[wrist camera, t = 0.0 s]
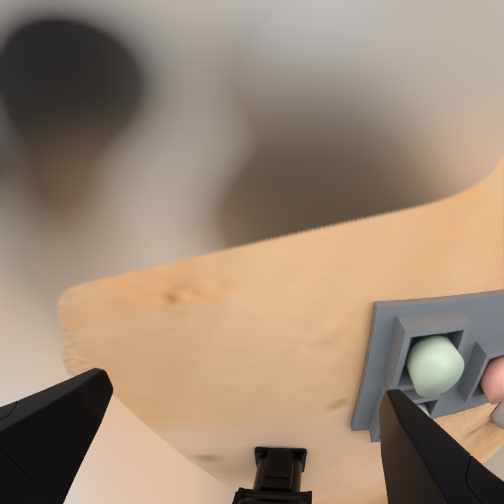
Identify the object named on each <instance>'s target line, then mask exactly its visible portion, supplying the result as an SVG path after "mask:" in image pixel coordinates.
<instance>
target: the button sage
mask: <svg viewBox="0 0 504 504" xmlns="http://www.w3.org/2000/svg"><path fill="white" fill-rule="evenodd" d="M406 368H407V370H408V372H409V375H410V377H411V380H412V382H413V384H414V387H415V389H416V392H417V393H418V395H420V396H422V397H427V398H428V397H435V396H438V395H440V394H442V393H444V392H446V391H447V390H449V389H450V388H451V387H452V386H453V385H454V384H455V383H456V382H457V381H458V380H459V378H460V377H461V375H462V373H463V370H464V360H463V358H462V357H461V355H460V354H459V352H458V351H457V349H456V348H455V347H454V345H453V344H452V342H451V341H450V339H449V338H448V337H447V336H446V335H444V334H441V333H440V334H433V335H427V336H425V337H423V338H422V339H420V340H419V341H418V342H417V343H416V344H415V345H414V346H413V347H412V348H411V349H410V351H409V353H408V355H407V357H406Z"/></svg>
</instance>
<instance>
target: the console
mask: <svg viewBox="0 0 504 504" xmlns="http://www.w3.org/2000/svg"><path fill="white" fill-rule="evenodd" d="M440 333H441V334H444V335H446V336H447V337H448V338H449V339H450V341H451V342H452V344H453V345H454V347H455V348H456V349H457V351H458V352H459V354H460V355H461V357H462V358H463V360H464V370H463V373H462V375H461V377H460V378H459V380H458V381H457V382H456V383H455V384H454V385H453V386H452V387H451V388H450V389H449V390H447V391H446V392H444V393H442V394H440V395H438V396H435V397H428V398H427V397H422V396H420V395H418V393H417V392H416V389H415V387H414V384H413V382H412V380H411V377H410V375H409V372H408V370H407V368H406V357H407V355H408V353H409V351H410V349H411V348H412V347H413V346H414V345H415V344H416V343H417V342H418V341H419V340H420V339H422V338H423V337H425V336H427V335H433V334H440ZM501 355H504V290H497V291H490V292H482V293H474V294H465V295H455V296H445V297H435V298H423V299H410V300H396V301H380V302H374V309H373V317H372V324H371V331H370V338H369V344H368V350H367V356H366V361H365V366H364V372H363V376H362V381H361V386H360V390H359V395H358V399H357V403H356V407H355V411H354V415H353V419H352V423H351V429H352V431H359V430H369V431H370V437H371V443H372V442H380V441H381V440H380V425H379V408H380V404H381V401H382V398H383V395H384V392H385V391H386V390H388V389H396V388H398V389H400V390H401V391H402V392H403V393H404V394H406V395H407V396H408V397H409V398H410V399H411V400H412V401H413V402H414V403H415V404H417V403H424V404H425V405H426V408H427V410H428V413H429V415H430V417H431V418H432V419H433V418H438V417H442V416H446V415H450V414H453V413H457V412H460V411H464V410H467V409H470V408H474V407H477V406H480V405H483V404H486V403H488V402H489V400H488V398H487V397H486V395H485V393H484V392H483V390H482V388H481V387H480V385H479V381H480V379H481V377H482V374H483V372H484V370H485V368H486V365H487V364H488V363H489V362H490V361H491V360H492V359H493V358H495V357H498V356H501Z"/></svg>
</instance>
